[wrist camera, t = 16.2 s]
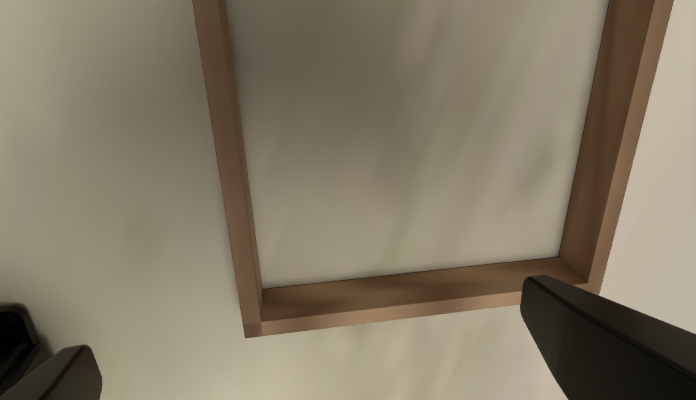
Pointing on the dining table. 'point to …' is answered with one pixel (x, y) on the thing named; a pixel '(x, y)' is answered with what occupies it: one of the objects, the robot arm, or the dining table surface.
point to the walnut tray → (458, 283)
